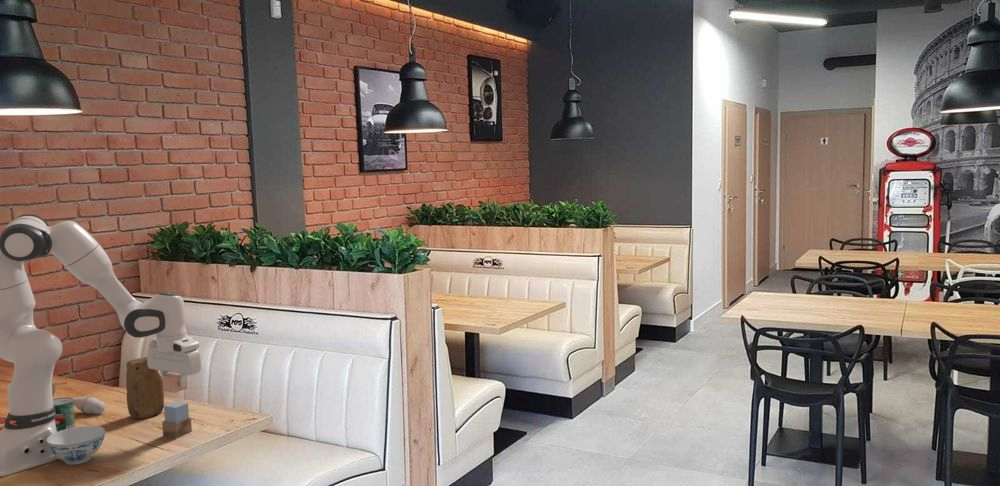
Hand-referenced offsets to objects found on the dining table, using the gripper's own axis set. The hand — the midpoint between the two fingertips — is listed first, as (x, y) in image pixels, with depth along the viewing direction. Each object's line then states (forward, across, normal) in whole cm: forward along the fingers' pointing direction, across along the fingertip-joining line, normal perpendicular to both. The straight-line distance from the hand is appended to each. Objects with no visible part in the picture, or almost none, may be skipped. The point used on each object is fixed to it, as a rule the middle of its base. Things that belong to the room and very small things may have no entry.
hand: (174, 384), depth 236 cm
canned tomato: (+16, -35, -15) cm, 42 cm away
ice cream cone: (+16, -47, +2) cm, 50 cm away
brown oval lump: (+16, -25, +9) cm, 31 cm away
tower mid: (+11, 0, 0) cm, 11 cm away
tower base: (+16, 0, 0) cm, 16 cm away
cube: (+2, 0, 0) cm, 2 cm away
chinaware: (+16, -10, -27) cm, 33 cm away
